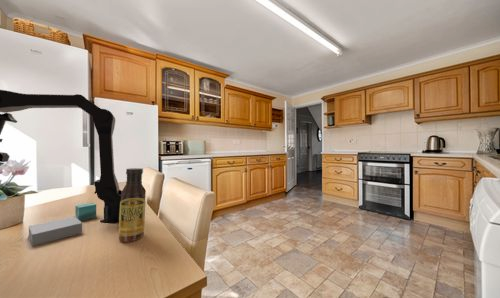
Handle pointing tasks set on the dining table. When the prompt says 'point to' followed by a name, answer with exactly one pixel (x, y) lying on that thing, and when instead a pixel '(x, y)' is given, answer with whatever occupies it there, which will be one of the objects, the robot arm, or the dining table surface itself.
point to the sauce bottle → (132, 207)
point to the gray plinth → (54, 230)
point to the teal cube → (85, 211)
